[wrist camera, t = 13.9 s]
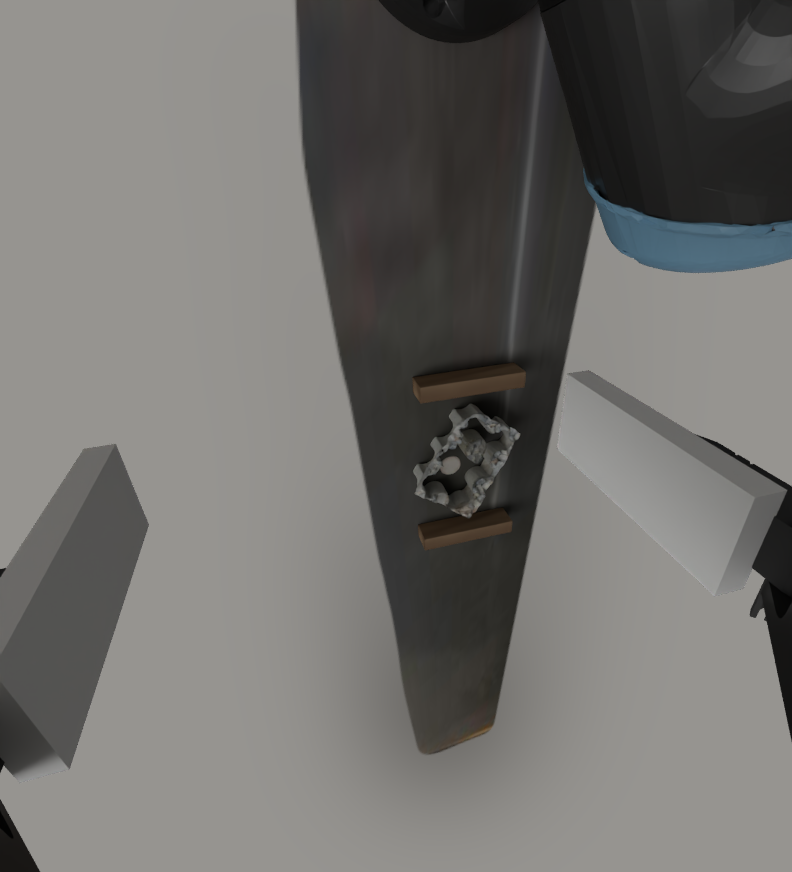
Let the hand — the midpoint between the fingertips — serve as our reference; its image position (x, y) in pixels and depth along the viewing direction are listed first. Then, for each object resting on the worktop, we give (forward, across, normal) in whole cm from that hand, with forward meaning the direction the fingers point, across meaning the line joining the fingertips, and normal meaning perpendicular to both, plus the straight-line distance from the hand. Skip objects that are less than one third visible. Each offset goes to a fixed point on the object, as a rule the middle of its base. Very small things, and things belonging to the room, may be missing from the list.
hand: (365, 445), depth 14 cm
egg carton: (+27, +13, -19) cm, 36 cm away
